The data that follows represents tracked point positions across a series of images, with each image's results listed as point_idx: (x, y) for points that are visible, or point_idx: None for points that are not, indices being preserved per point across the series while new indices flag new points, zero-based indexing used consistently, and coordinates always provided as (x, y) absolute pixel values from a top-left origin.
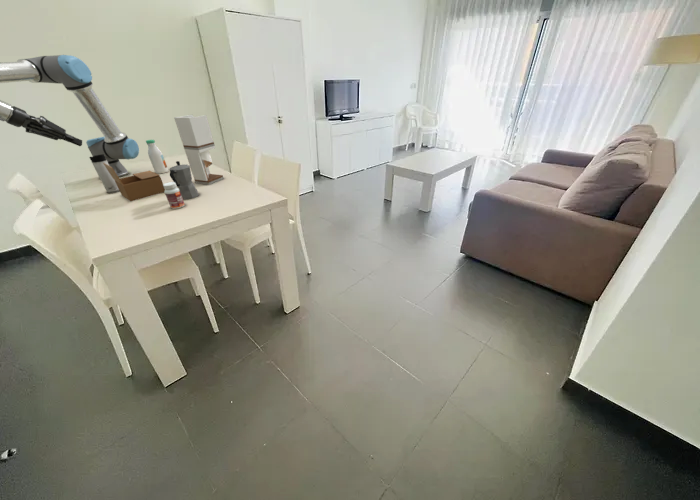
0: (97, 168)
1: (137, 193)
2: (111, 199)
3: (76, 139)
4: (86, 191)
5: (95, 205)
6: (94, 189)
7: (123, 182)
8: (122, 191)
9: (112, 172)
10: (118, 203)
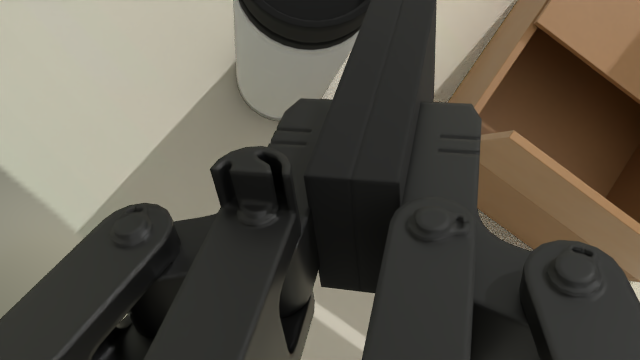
0: (304, 70)
1: None
2: None
3: (424, 75)
4: (29, 69)
5: None
6: (61, 23)
7: None
8: (498, 207)
9: (635, 254)
10: None
